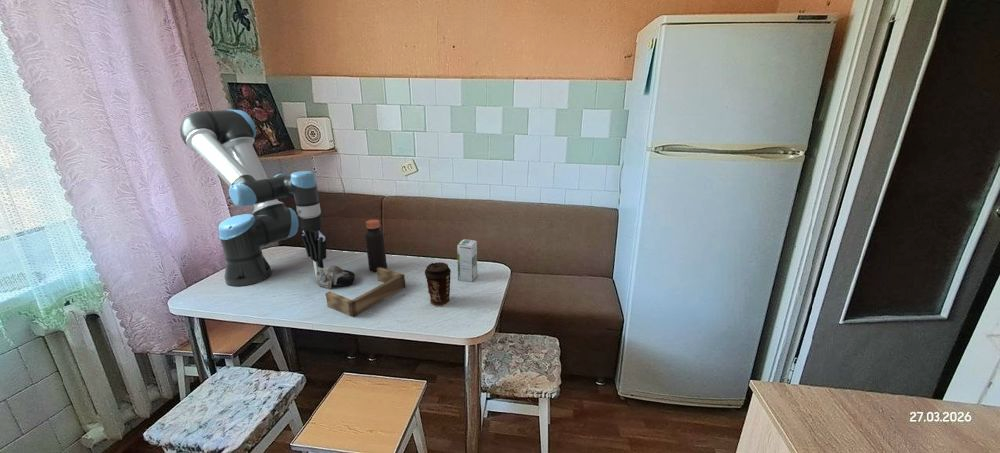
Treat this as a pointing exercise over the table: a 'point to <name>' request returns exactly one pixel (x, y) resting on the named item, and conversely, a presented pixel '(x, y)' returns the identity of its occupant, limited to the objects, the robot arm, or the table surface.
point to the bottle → (375, 246)
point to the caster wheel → (334, 277)
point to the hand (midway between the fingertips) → (320, 275)
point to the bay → (368, 294)
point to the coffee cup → (438, 283)
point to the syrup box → (467, 260)
